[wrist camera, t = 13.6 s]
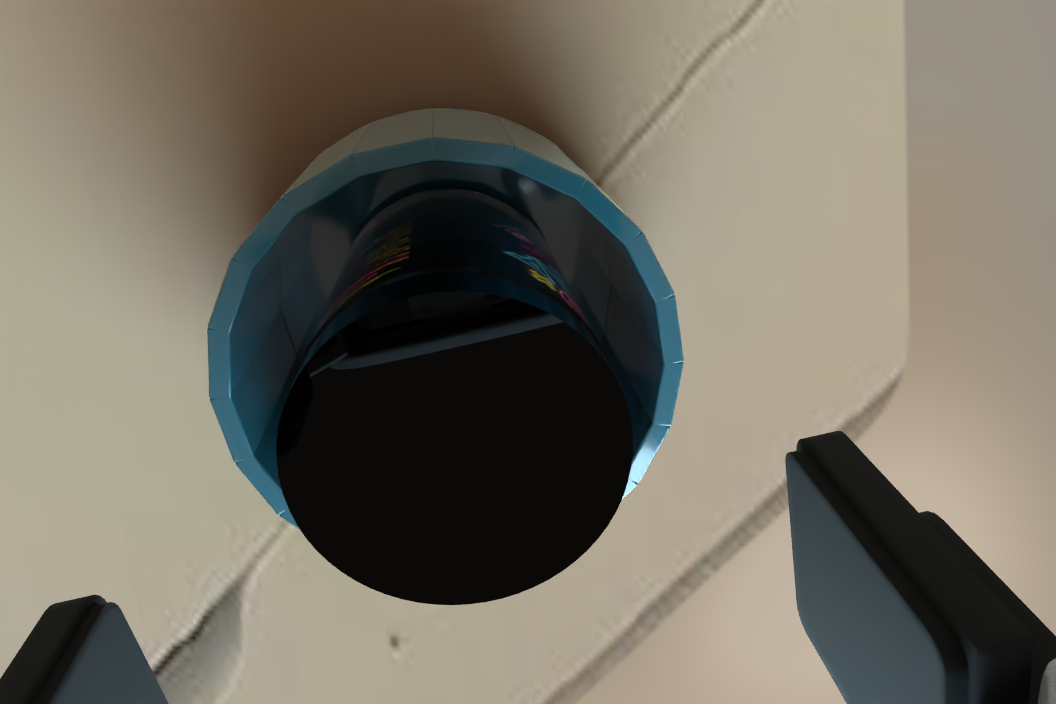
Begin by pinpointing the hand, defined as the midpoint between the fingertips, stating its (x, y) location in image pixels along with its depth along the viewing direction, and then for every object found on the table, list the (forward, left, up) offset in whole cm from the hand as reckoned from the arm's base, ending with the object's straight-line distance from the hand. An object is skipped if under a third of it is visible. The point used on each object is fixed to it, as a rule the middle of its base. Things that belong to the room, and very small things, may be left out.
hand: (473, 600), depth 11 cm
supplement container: (0, 0, -15) cm, 15 cm away
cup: (0, 0, -15) cm, 15 cm away
